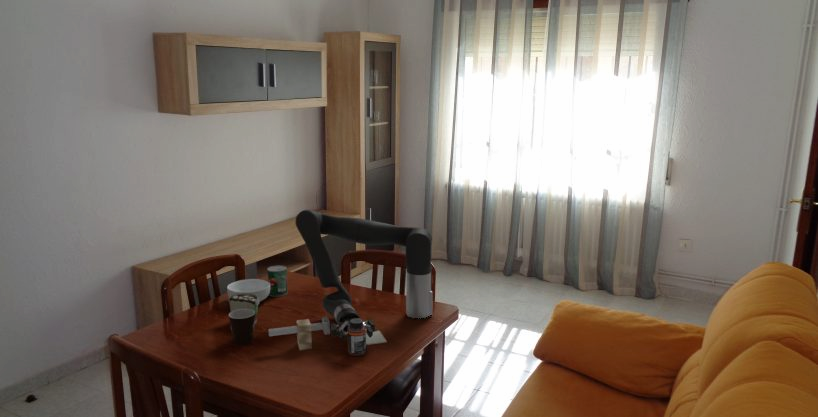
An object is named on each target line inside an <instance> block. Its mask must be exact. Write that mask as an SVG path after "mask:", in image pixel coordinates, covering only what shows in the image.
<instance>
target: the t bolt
mask: <svg viewBox="0 0 818 417" xmlns="http://www.w3.org/2000/svg"><path fill="white" fill-rule="evenodd" d="M267 330H268V337H273V336H283V335H291V334H297V333H298V326H297V325H292V326H283V327H277V328H276V327H274V328H268V329H267ZM321 330H322V332H323V333H324V335H330V334H331V321H330V319H329V317H328V316H322V317H321V322H315V323H311V332H315V331H321Z"/></svg>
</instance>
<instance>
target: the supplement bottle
mask: <svg viewBox="0 0 818 417" xmlns="http://www.w3.org/2000/svg"><path fill="white" fill-rule="evenodd" d="M359 318H360V317H359ZM359 318H355V319H352V320H351V321H350V326H349V327H348V333H347V352H348V354H349V355H350V356H353V357H359V356H361V357H362V356H363V355H364V354H366V352H367V345H366V330H367V327H365V326H364V325H363V322H364V321H363V319H361V318H360V319H359Z"/></svg>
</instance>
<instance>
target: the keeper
mask: <svg viewBox="0 0 818 417" xmlns="http://www.w3.org/2000/svg"><path fill="white" fill-rule="evenodd" d="M311 324H312V323H311V322H310V318H306V319H305V318H304V319H297V320H296V326H298V333H296V337H297V338H296V339H297V341H296V342H297V346H298V350H299V351H304V350H312V349H313V348H312V347H313V344H312V331H311Z"/></svg>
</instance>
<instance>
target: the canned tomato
mask: <svg viewBox="0 0 818 417" xmlns="http://www.w3.org/2000/svg"><path fill="white" fill-rule="evenodd" d="M287 268H288V267H287V266H285V265H282V264H281V265H270V266H269V267H267V269H266V270H267V281H268V282H269V283H270V293H269V295H268V296H270V297H275V298H276V297H283V296H286V295H287V294H288V293H289V291H288V270H287Z"/></svg>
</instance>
